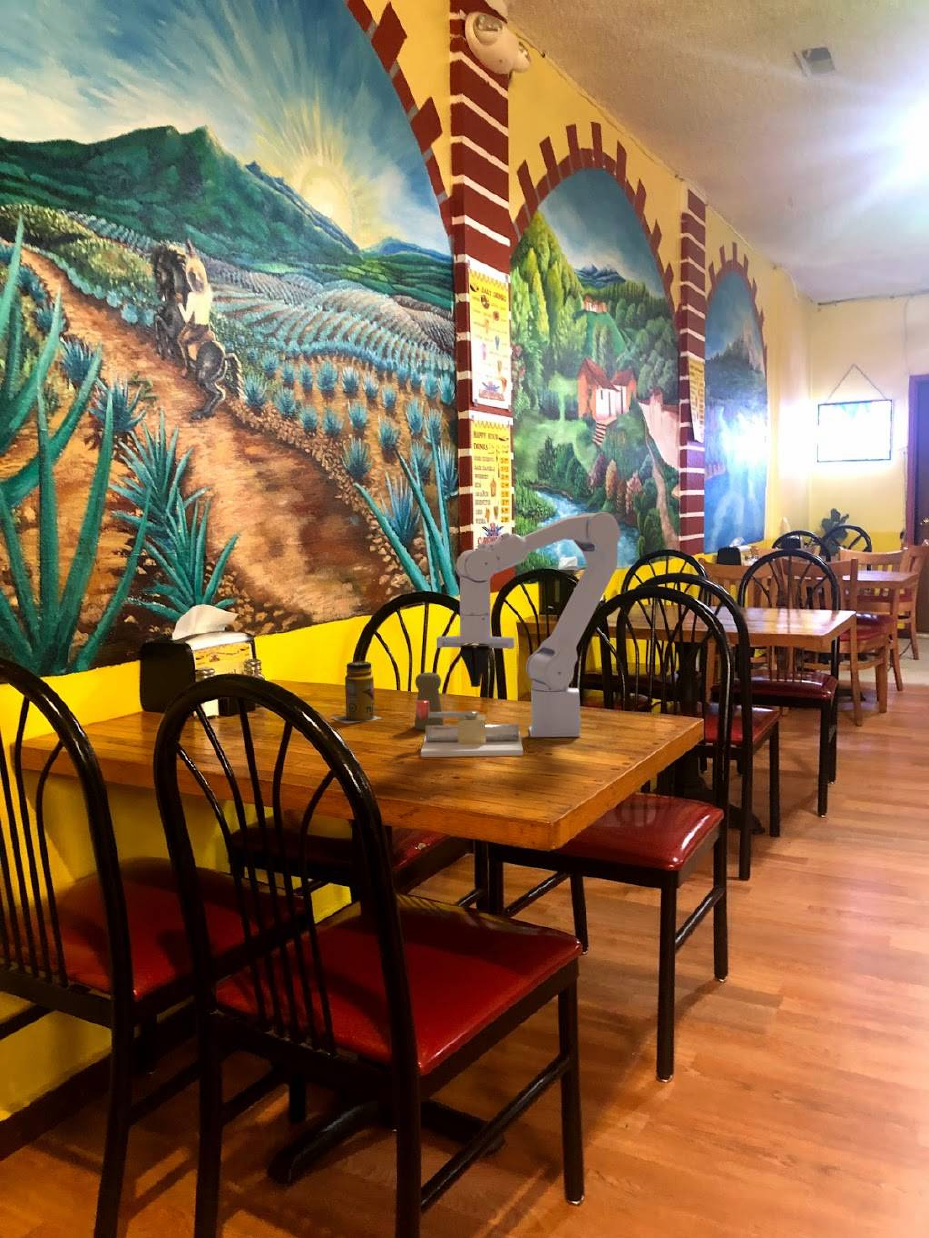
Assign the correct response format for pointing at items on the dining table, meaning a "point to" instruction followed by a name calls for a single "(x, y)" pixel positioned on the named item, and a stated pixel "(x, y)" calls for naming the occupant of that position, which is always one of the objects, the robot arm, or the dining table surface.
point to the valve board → (472, 749)
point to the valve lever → (424, 713)
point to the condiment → (358, 693)
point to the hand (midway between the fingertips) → (475, 686)
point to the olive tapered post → (429, 698)
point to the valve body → (472, 731)
